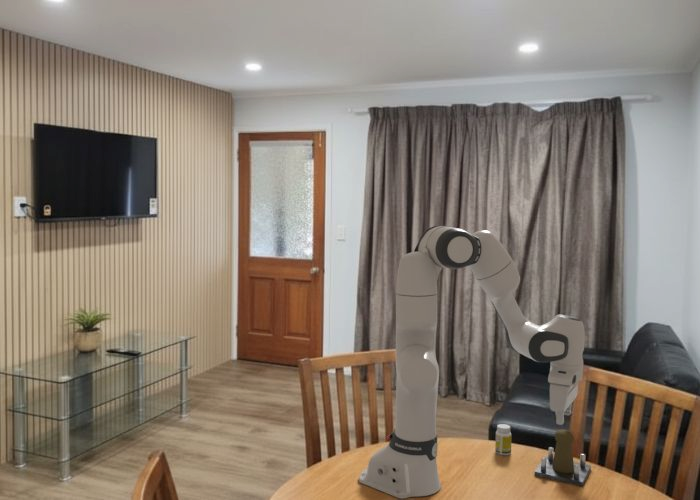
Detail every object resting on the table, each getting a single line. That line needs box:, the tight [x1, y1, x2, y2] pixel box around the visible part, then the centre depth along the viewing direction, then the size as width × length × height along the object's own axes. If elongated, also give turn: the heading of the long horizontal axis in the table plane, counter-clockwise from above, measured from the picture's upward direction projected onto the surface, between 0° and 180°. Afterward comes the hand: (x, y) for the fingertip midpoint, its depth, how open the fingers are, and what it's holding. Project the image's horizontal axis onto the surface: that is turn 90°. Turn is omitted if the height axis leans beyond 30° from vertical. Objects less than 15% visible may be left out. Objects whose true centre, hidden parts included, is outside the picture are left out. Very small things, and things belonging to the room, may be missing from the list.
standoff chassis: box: [533, 446, 592, 487], centre depth 177 cm, size 13×13×5 cm
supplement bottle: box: [494, 423, 512, 456], centre depth 191 cm, size 5×5×8 cm
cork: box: [552, 429, 575, 473], centre depth 177 cm, size 6×6×11 cm
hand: (563, 419), depth 176 cm, fingers open, 8 cm apart
